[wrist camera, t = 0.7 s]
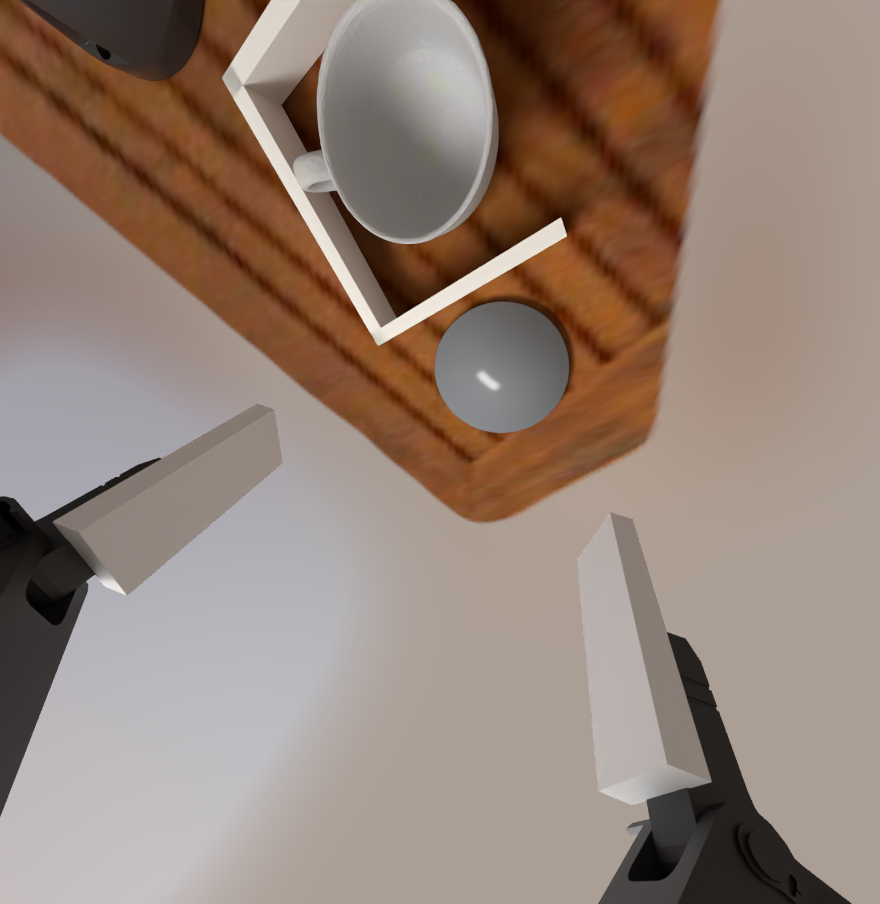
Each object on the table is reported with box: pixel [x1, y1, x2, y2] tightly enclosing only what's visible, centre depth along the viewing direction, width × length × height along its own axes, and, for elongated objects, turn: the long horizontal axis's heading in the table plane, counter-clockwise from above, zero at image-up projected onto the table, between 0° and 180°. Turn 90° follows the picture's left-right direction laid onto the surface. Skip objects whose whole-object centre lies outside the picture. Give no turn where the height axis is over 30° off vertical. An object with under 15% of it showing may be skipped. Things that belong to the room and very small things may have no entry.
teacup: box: [293, 0, 499, 244], centre depth 22 cm, size 14×11×8 cm
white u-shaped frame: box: [222, 0, 567, 346], centre depth 24 cm, size 20×17×4 cm
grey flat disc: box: [435, 301, 569, 433], centre depth 32 cm, size 13×13×1 cm
